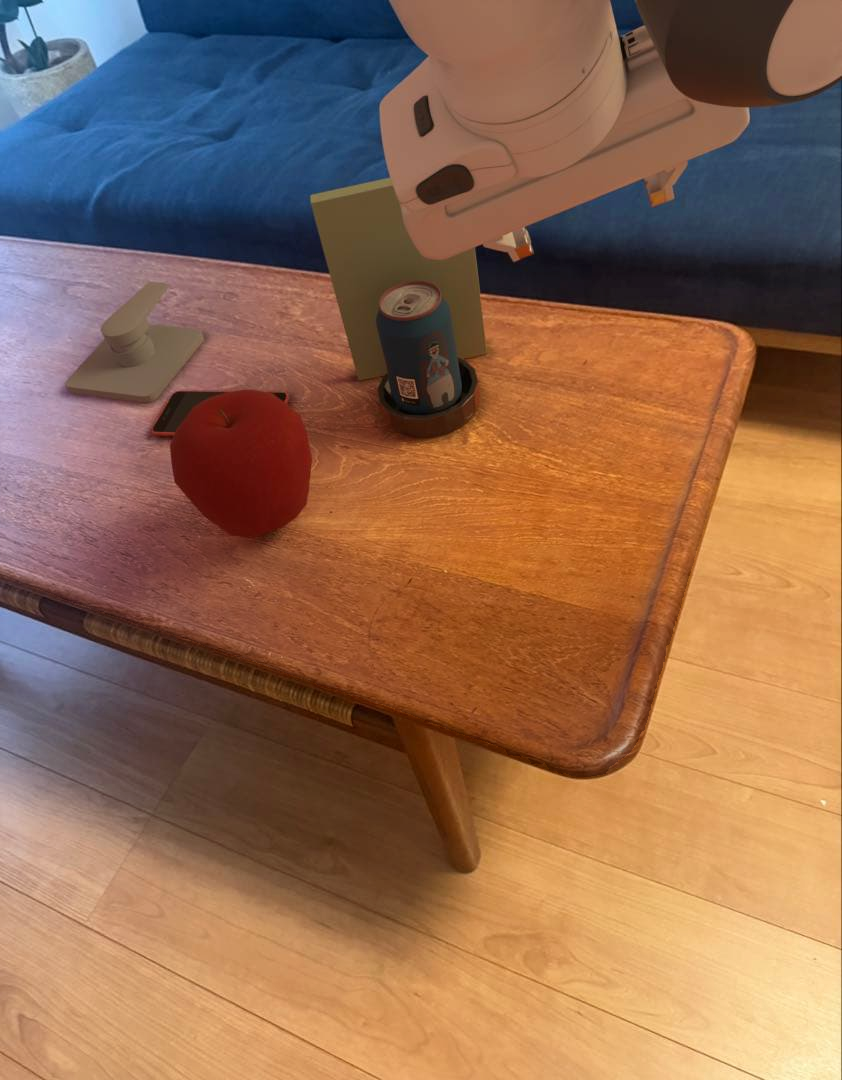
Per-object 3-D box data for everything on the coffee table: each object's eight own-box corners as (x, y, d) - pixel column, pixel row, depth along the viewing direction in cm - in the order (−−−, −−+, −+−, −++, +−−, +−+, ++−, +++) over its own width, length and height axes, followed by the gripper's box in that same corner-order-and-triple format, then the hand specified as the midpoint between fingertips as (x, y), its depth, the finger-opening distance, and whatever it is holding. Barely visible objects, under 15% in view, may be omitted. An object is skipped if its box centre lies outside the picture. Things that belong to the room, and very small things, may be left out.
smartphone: (270, 436, 83) (147, 433, 86) (271, 440, 83) (149, 437, 87) (290, 391, 87) (173, 389, 90) (292, 395, 87) (175, 393, 91)
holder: (470, 364, 86) (468, 345, 84) (488, 426, 80) (485, 406, 78) (378, 384, 86) (373, 365, 85) (387, 447, 80) (382, 428, 78)
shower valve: (201, 283, 95) (132, 364, 86) (217, 323, 99) (152, 404, 90) (115, 277, 99) (41, 353, 90) (134, 315, 103) (65, 392, 95)
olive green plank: (484, 345, 88) (462, 161, 73) (487, 354, 87) (465, 169, 72) (357, 372, 88) (309, 194, 73) (358, 381, 87) (310, 203, 72)
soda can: (414, 374, 86) (394, 272, 77) (474, 385, 83) (460, 282, 74) (383, 416, 82) (358, 315, 73) (445, 430, 79) (426, 326, 70)
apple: (253, 587, 71) (198, 480, 61) (183, 524, 77) (122, 418, 67) (356, 506, 75) (320, 394, 65) (281, 453, 82) (238, 344, 72)
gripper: (727, -69, 39) (738, 116, 52) (353, 115, 46) (442, 239, 59) (764, 35, 38) (766, 200, 50) (370, 210, 44) (458, 317, 57)
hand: (589, 222), depth 54 cm, fingers open, 8 cm apart
